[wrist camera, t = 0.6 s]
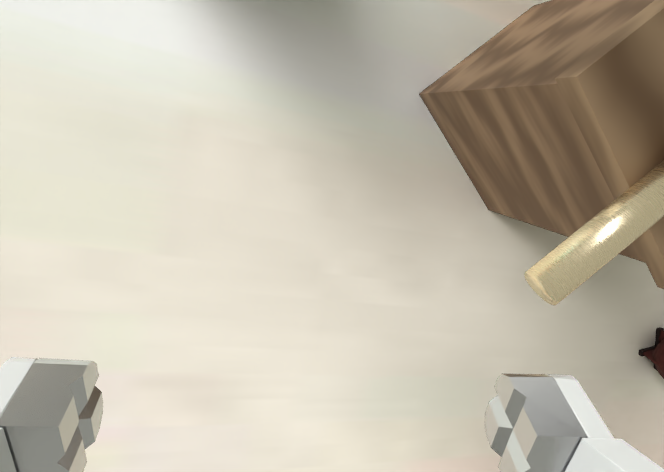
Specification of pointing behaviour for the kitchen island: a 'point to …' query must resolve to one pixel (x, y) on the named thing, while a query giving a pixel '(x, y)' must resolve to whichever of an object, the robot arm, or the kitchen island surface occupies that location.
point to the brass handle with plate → (599, 239)
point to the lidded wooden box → (562, 114)
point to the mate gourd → (656, 352)
